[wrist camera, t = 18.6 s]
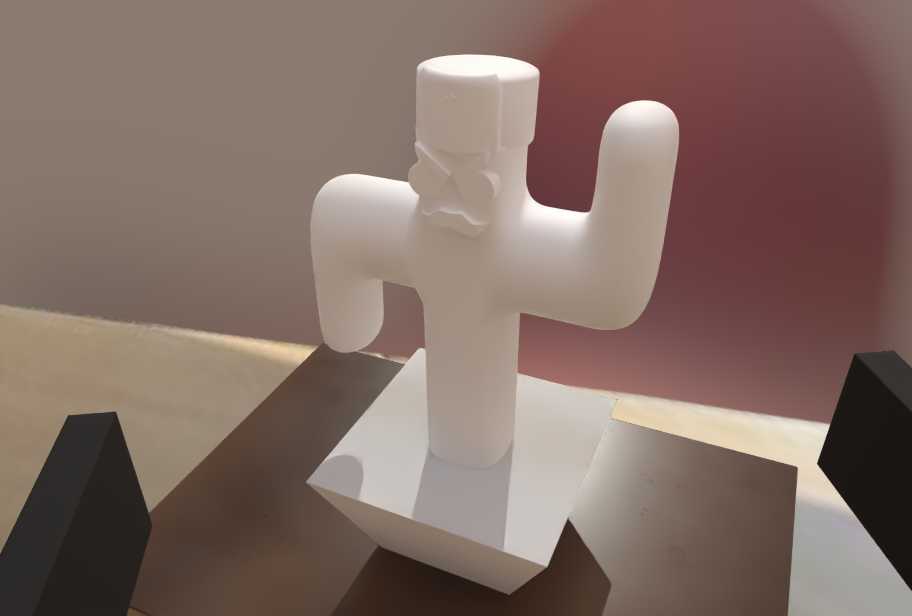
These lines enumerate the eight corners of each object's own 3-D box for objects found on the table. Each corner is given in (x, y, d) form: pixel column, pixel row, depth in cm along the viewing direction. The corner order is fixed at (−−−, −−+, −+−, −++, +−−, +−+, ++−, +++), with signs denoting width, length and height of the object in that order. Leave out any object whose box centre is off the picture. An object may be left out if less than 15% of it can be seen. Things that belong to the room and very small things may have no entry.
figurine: (397, 417, 29) (371, 13, 21) (637, 490, 26) (713, 42, 18) (289, 554, 24) (199, 77, 16) (577, 669, 20) (650, 137, 12)
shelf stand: (149, 755, 28) (76, 583, 23) (341, 499, 39) (322, 342, 34) (693, 1043, 21) (769, 893, 16) (743, 636, 32) (798, 466, 27)
